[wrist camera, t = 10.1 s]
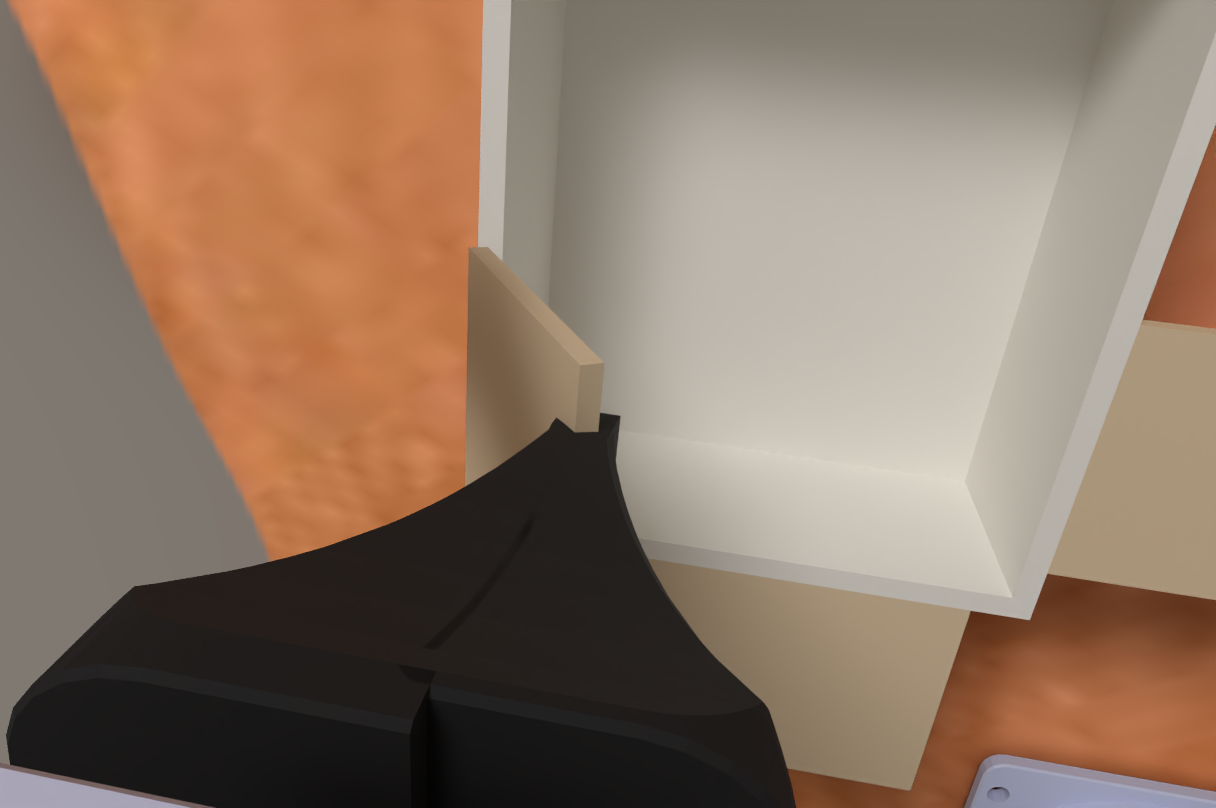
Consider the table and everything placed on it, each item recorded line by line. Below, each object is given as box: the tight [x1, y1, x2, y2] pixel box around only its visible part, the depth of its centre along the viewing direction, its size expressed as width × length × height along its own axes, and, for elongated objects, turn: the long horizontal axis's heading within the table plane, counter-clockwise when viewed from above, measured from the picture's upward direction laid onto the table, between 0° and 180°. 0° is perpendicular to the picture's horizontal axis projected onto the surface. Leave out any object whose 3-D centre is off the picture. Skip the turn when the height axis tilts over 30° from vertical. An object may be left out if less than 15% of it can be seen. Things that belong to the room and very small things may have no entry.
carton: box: [478, 0, 1216, 791], centre depth 16 cm, size 16×15×4 cm
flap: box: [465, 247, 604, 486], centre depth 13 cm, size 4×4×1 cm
